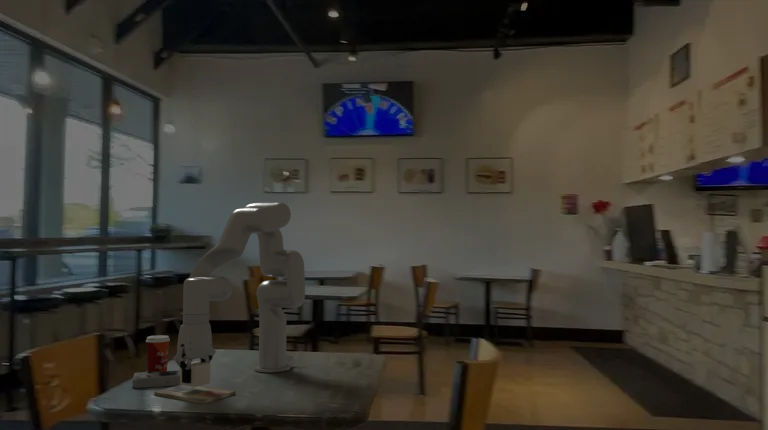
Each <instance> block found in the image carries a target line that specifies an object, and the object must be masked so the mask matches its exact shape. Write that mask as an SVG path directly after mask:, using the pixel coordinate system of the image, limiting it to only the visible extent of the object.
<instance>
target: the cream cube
mask: <svg viewBox="0 0 768 430" xmlns="http://www.w3.org/2000/svg"><path fill="white" fill-rule="evenodd" d="M186 364H187V362H186ZM179 369H180V368H179ZM189 369H191V383H182V369H180V385H184V386H190V387H197V386H206V385H209V384H211V362H210V363H206V362H200V361H199V360H195V361H192V362H191V365H190V368H189Z"/></svg>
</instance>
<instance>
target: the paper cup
mask: <svg viewBox="0 0 768 430" xmlns="http://www.w3.org/2000/svg"><path fill="white" fill-rule="evenodd" d="M170 339H171V338H170V336H169V335H160V334H159V335H150V336H147V337H146V340H145V342H146V357H147V358H146V360H147V361H146V362H147V372H159V371H168V363H169V362H168V361H169V348H170V347H169V346H170V341H171V340H170Z"/></svg>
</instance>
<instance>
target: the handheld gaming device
mask: <svg viewBox="0 0 768 430" xmlns="http://www.w3.org/2000/svg"><path fill="white" fill-rule="evenodd" d="M133 373H134V374H133V377H132V382H131V383H132V388H134V389H143V388H144V389H145V388H160V387H175V386H179V385H180V370H167V371H159V372H148V371H145V372H144V371H143V372H142V371H141V372H140V371H139V372H133Z"/></svg>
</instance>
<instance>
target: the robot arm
mask: <svg viewBox="0 0 768 430" xmlns="http://www.w3.org/2000/svg"><path fill="white" fill-rule="evenodd" d="M291 216H292V213H291V209H290V207H289V206H288V205H287V204H286V203H284V202H253V203H249V204H247V205H246V206H244V207H241V208H237V209H235V210H233V211H232V212H231V214H230V216H229V217H228V219H227V222H226V223H225V224H226V225H225V226H224V228H223V231H222V234H221V236H220V237H219V239H218V242H217V244H216V245H215V246H214V247H213V248H211V249H210V250H208V251H207V253H205V254H204V255H202V257H200V258H199V259H198V261H197V262H195V264H194V266H193V269H192V270H191V272H190V274H189V277H188V278H186V279H185V280H184V281H183V291H182V292H183V293H182V294H183V296H182V297H183V298H182V324H181V325H180V327H179V332H178V338H177V344H176V354H175V355H174V357H173V360H174V362H175V363H177V366H179V369H182V383H191V369H189V368H190V365H191V362H193V360H195V359H199V362H206V363H210V364H211V362H212V360H213V357H214V356H215V354H216V352H217V351H216V349H215V348H214V347H213V335H212V327H211V323H210V318H211V314H210V302H212V301H213V302H219V301H220V302H221V301H226V300H227V299H228V298H230V297H231V295H232V293H233V289H234V288H233V287H234V286H233V283H232V282H231V280H230V279H228V277H224V276H220V275H219V276H218V275H217V276H216V275H215V276H213V275H212V274H213V273H214V272H215V271H216V270H217V269H219V268H221V266H224V265H226V264H229V263H231V262H233V261H236V260H237V259H239V258H241V256H242V255H243V253H244V252H245V249H246V246H247V244H248V241H249V239H250V237H251V235H252V234H256V235H257V239H258V249H259V250H258V251H259V252H258V253H259V256H258V257H259V268H260V272H261V274H262V275H264V276H265V277H271V278H273V277H274V278H275V277H276V278H285V279H286V280H278V279H276V280H275V279H274V280H273V279H268V280H264V281H262V282H261V283H259V285H258V287H257V289H256V299H257V305H258V319H259V320H258V321H259V322H258V323H259V325H258V326H259V328H258V332H259V333H258V334H259V335H258V339H259V340H258V358H259V359H258V364H257V365H254V371H255V372H258V373H266V374H267V373H268V374H269V373H281V372H287V371H289V370H291V365H290V364H289V363H288V362H290V361H293V360H294V358H295V357H294V355H293V354H291V355H288V354H287V317H286V313H284V310H283V308H285V309H286V308H287V309H297V308H300V307H301V306H302V305H304V302H305V297H306V279H305V261H304V257H303V256H302V254H301V253H300V252H299V251H297V250H293V249H292V250H291V249H285V248H284V241H283V240H284V238H283V237H284V236H283V233H282V231H281V230H280V229H282V228H284V227H286V225H288V224H289V222H290V221H291V218H292V217H291ZM186 363H187V364H186Z"/></svg>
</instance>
